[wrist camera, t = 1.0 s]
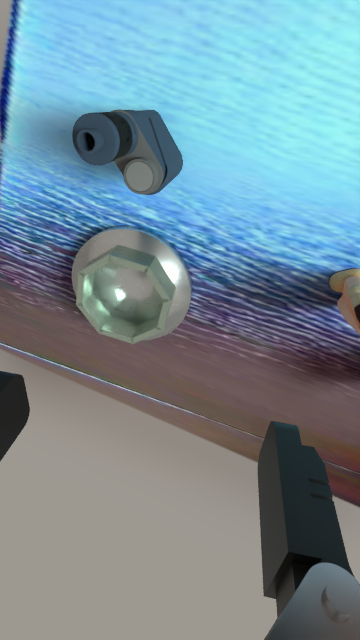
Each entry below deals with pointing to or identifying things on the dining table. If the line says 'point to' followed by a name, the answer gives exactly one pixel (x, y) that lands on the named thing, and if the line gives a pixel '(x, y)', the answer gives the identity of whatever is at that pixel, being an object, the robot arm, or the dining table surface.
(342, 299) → the grandmother figurine
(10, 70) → the dining table surface
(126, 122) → the vaping device
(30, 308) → the dining table surface
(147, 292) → the ring seat
